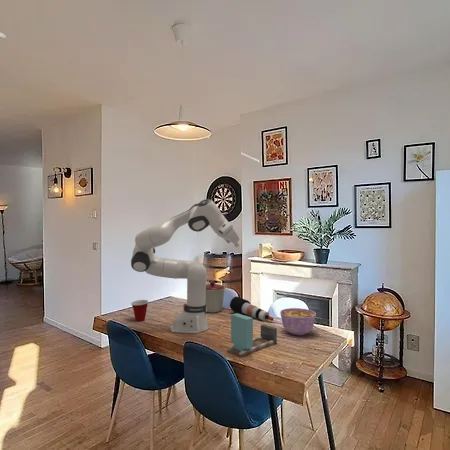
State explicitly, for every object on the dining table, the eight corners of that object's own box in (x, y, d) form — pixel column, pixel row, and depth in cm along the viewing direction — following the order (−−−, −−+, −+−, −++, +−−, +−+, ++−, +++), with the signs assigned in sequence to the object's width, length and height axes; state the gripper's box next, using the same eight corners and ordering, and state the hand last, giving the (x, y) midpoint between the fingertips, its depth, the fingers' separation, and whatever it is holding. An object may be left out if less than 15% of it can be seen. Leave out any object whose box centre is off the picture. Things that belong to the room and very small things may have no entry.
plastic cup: (128, 320, 215) (128, 301, 215) (143, 316, 222) (143, 298, 222) (136, 324, 207) (135, 304, 207) (151, 320, 214) (151, 301, 214)
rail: (240, 357, 157) (240, 340, 157) (227, 351, 163) (227, 335, 163) (276, 343, 174) (276, 328, 174) (263, 339, 181) (263, 324, 181)
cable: (269, 330, 208) (265, 318, 204) (232, 313, 233) (228, 302, 230) (279, 320, 214) (275, 308, 210) (242, 304, 239) (238, 293, 235)
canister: (216, 306, 250) (216, 278, 249) (230, 311, 235) (230, 281, 234) (195, 309, 239) (194, 280, 239) (208, 315, 224) (208, 284, 224)
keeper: (246, 353, 158) (246, 319, 157) (230, 347, 166) (230, 314, 166) (253, 350, 161) (253, 317, 161) (237, 344, 169) (237, 313, 169)
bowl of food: (290, 325, 205) (290, 306, 204) (321, 332, 192) (322, 311, 192) (273, 333, 189) (273, 313, 189) (306, 341, 176) (306, 320, 176)
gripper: (207, 225, 185) (220, 243, 191) (224, 233, 168) (238, 252, 173) (215, 218, 187) (228, 236, 193) (233, 224, 169) (246, 244, 175)
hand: (233, 244), depth 183 cm, fingers open, 8 cm apart
